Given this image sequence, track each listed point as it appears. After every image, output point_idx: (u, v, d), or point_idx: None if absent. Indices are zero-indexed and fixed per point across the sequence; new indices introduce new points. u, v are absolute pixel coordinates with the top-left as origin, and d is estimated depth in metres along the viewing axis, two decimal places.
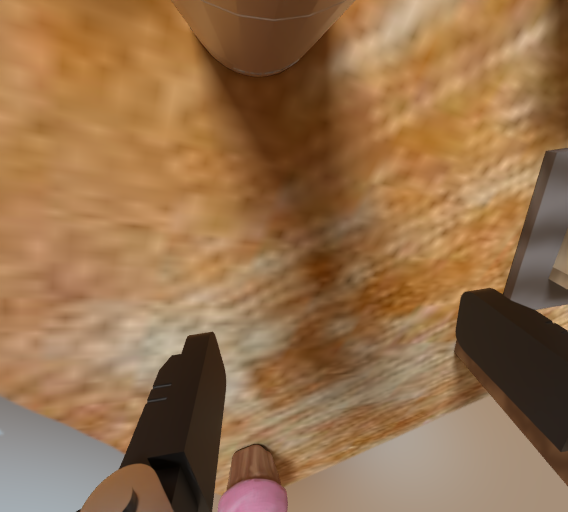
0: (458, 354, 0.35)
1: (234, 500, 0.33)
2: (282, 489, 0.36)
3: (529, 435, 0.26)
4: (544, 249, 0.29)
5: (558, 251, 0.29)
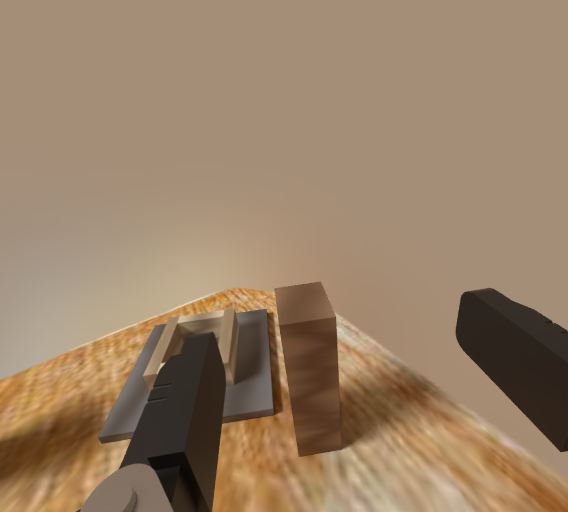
0: (337, 444, 0.25)
1: None
2: None
3: (330, 362, 0.21)
4: None
5: None
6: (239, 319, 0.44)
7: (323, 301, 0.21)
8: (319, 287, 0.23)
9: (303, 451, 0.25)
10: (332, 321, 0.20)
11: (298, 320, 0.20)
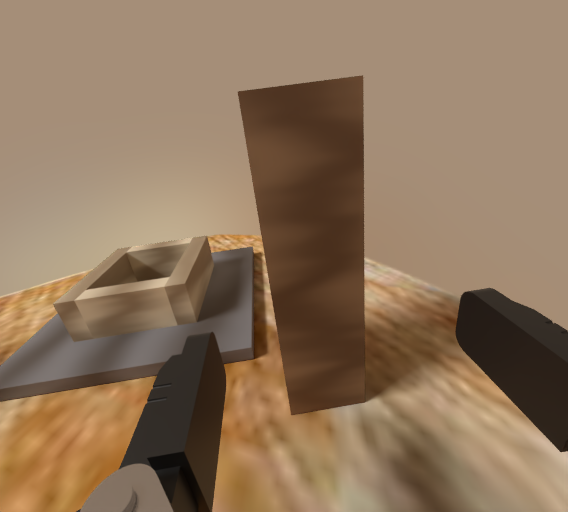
0: (358, 393, 0.15)
1: None
2: None
3: (349, 206, 0.11)
4: (137, 345, 0.20)
5: (152, 329, 0.22)
6: (216, 257, 0.33)
7: None
8: None
9: (298, 404, 0.15)
10: (355, 90, 0.09)
11: (280, 86, 0.09)
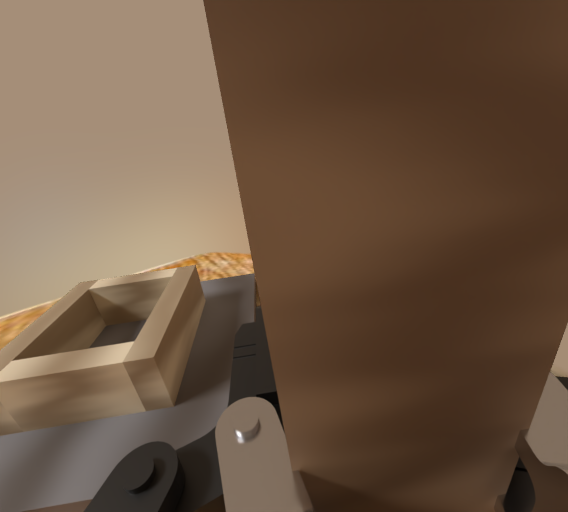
0: None
1: None
2: None
3: (526, 332, 0.04)
4: (81, 452, 0.13)
5: (109, 418, 0.15)
6: (208, 289, 0.26)
7: None
8: None
9: None
10: None
11: None
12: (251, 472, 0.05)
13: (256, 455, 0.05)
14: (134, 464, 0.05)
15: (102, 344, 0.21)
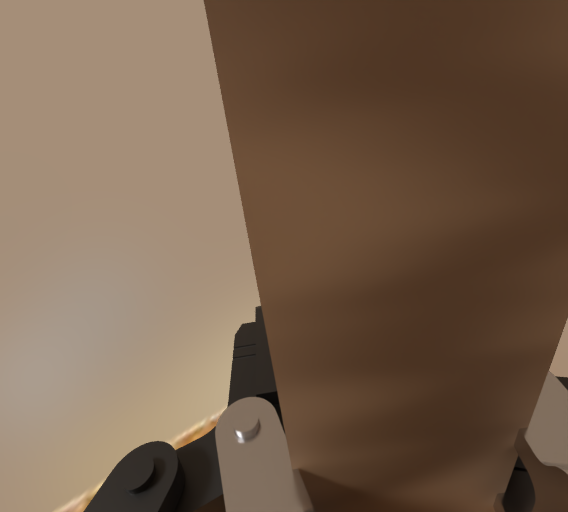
0: None
1: None
2: None
3: (525, 331, 0.04)
4: None
5: None
6: None
7: None
8: None
9: None
10: None
11: None
12: (251, 472, 0.05)
13: (256, 455, 0.05)
14: (134, 464, 0.05)
15: None
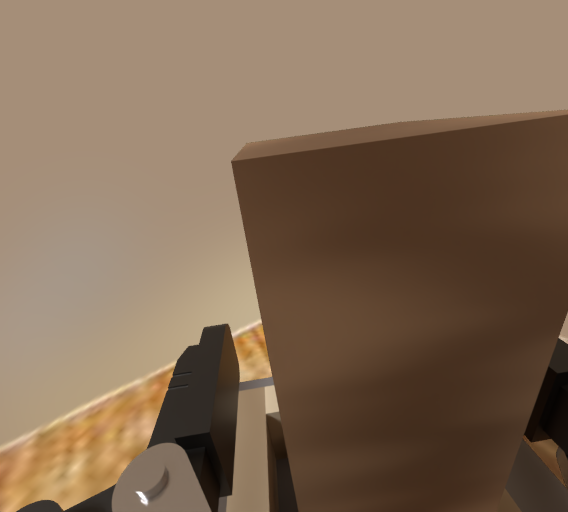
0: None
1: None
2: None
3: (501, 406, 0.04)
4: None
5: None
6: None
7: (459, 119, 0.05)
8: (405, 122, 0.06)
9: None
10: None
11: (369, 140, 0.03)
12: None
13: None
14: None
15: None
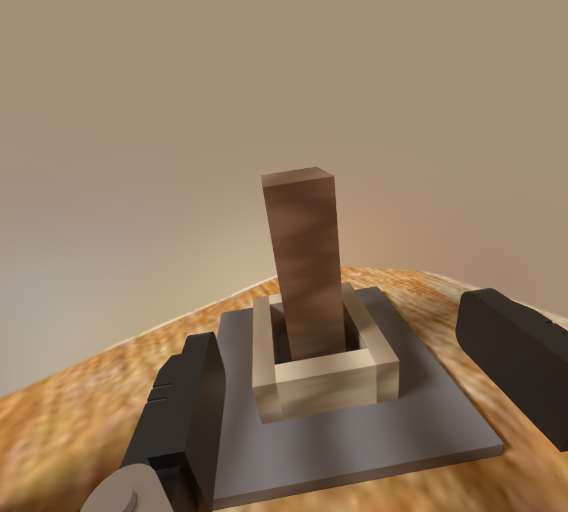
0: None
1: None
2: None
3: (329, 246, 0.17)
4: (348, 434, 0.17)
5: (349, 408, 0.19)
6: None
7: (318, 172, 0.17)
8: (314, 168, 0.19)
9: None
10: (330, 183, 0.16)
11: (286, 182, 0.16)
12: None
13: None
14: None
15: (287, 350, 0.25)
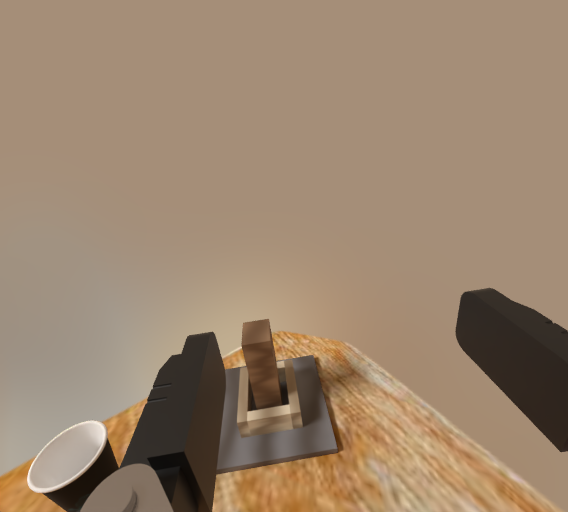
0: None
1: None
2: None
3: (270, 363, 0.40)
4: (277, 443, 0.41)
5: (280, 431, 0.42)
6: (292, 365, 0.54)
7: (266, 331, 0.41)
8: (267, 322, 0.42)
9: None
10: (268, 343, 0.39)
11: (251, 342, 0.39)
12: None
13: None
14: None
15: None
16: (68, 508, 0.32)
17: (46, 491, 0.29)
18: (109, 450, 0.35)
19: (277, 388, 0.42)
